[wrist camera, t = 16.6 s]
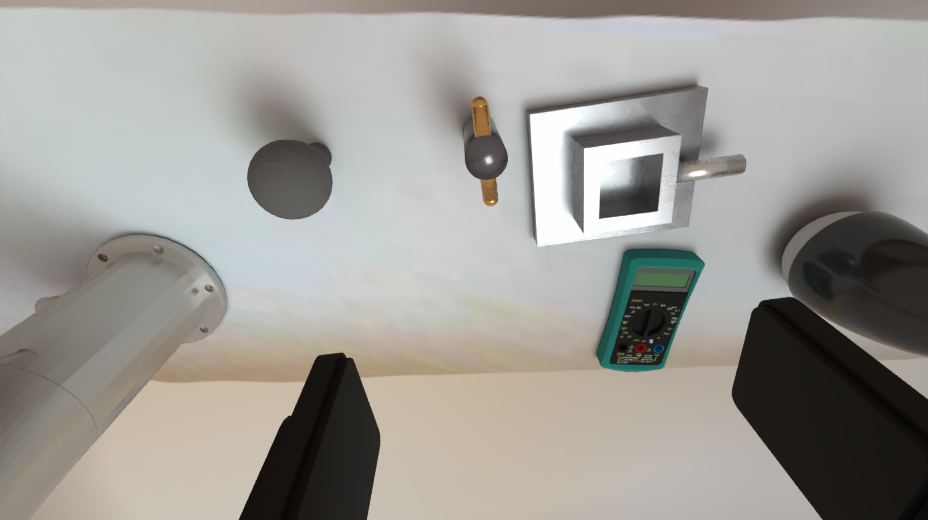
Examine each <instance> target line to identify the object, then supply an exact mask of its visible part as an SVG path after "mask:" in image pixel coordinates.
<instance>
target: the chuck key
mask: <svg viewBox="0 0 928 520" xmlns="http://www.w3.org/2000/svg"><path fill="white" fill-rule="evenodd" d="M471 109H472V116H471V117H470V118H469V119H468V120H467V121H466V123H465V125H464V128H463V136H464V150H465V163H466V166H467V169H468V171H469V172H470V173H471V174H472V175H473V176H474V177H476V178H478V179H480V181H481V188H482V196H483V202H484V203H485V204H486V205H487V206H494V205H495V204H496V203H497V201H498V192H497V183H496V177H498V176H499V175H500V174H501V173H502V172H503V171H504V170H505V168H506V165H507V162H508V155H507V151H506V149H505V146H504V144H503V142H502V139H501V137H500V135H499V133H498V130H497V128H496V126H495V124H494V122H493V120H492V119H491V118H490V117H489V108H488V102H487V100H486V99H485V98H484V97H481V96H478V97H476V98H474V99H473V101H472V103H471Z"/></svg>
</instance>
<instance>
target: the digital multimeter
mask: <svg viewBox="0 0 928 520" xmlns="http://www.w3.org/2000/svg"><path fill="white" fill-rule="evenodd" d="M704 265H705V263H704V262H703V261H702V260H701V259H700V258H699V257H698V256H697V255H696V254H695V253H692V252H684V251H676V250H662V249H642V250H628V251H627V252H626V253H625V254H624V259H623V263H622V268H621V272H620V276H619V281H618V285H617V290H616V293H615V297H614V301H613V305H612V308H611V312H610V315H609V319H608V322H607V325H606V328H605V331H604V334H603V337H602V340H601V343H600V345H599V348H598V351H597V358H598V360H599V362H600V365H601V366H602V367H604V368H608V369H613V370H618V371H625V372H641V371H650V370H658V369H662V368H663V367H664V366H665V363H666V360H667V357H668V354H669V350H670V347H671V345H672V342H673V339H674V336H675V333H676V331H677V328H678V325H679V323H680V320H681V318H682V315H683V313H684V310H685V308H686V305H687V303H688V300H689V298H690V296H691V294H692V292H693V289H694V287H695V285H696V283H697V281H698V279H699V276H700V274H701V272H702V270H703V268H704ZM628 298H629V299H628ZM627 301H628V302H627ZM625 308H626V309H625ZM624 311H625V312H624ZM623 314H624V315H623ZM667 317H668V318H667ZM621 321H622V322H621ZM620 324H621V325H620ZM630 328H631V329H630ZM618 331H619V332H618ZM617 334H618V335H617ZM614 344H615V345H614ZM613 347H614V348H613ZM611 354H612V355H611ZM610 357H611V358H610Z"/></svg>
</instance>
